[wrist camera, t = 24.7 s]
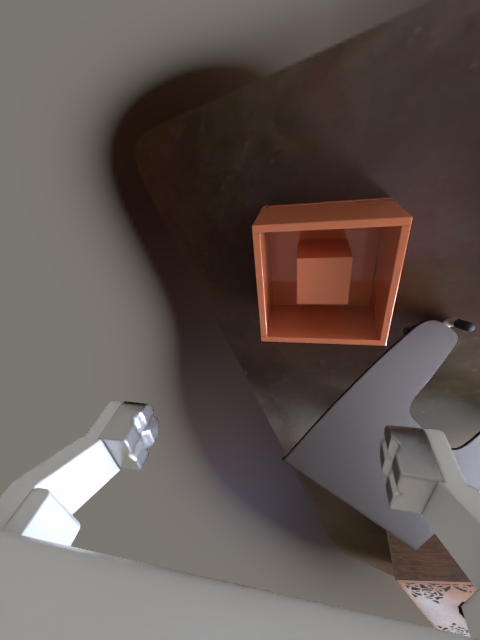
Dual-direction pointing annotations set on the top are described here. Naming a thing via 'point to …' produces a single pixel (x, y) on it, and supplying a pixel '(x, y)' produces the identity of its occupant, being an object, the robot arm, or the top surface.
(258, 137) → the top surface
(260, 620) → the robot arm
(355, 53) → the top surface
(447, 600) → the tissue box cover
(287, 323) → the terracotta bin
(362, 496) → the laptop stand
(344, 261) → the terracotta block
